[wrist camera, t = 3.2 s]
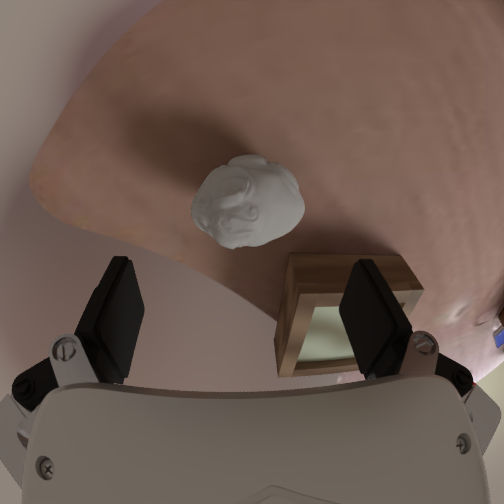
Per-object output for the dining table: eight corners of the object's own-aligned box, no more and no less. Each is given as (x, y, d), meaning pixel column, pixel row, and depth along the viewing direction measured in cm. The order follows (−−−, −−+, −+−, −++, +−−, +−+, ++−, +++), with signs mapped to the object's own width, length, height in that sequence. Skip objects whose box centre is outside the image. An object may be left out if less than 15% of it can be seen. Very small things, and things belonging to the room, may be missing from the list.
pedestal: (290, 253, 24) (300, 293, 20) (401, 255, 25) (424, 289, 21) (273, 340, 32) (277, 377, 27) (363, 335, 32) (374, 367, 28)
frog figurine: (204, 139, 18) (187, 168, 12) (300, 149, 19) (327, 182, 13) (201, 213, 22) (188, 268, 16) (287, 220, 22) (303, 275, 17)
